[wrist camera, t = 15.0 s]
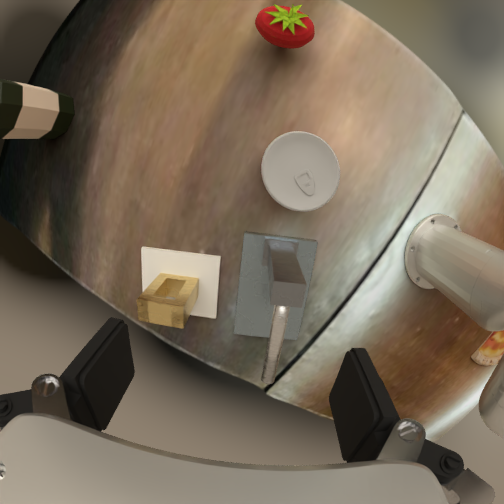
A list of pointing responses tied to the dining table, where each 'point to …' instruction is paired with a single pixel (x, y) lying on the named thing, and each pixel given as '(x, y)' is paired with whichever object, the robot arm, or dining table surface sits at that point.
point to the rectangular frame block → (168, 300)
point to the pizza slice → (490, 349)
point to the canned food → (300, 171)
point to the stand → (273, 291)
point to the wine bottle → (33, 111)
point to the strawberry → (285, 26)
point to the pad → (185, 274)
